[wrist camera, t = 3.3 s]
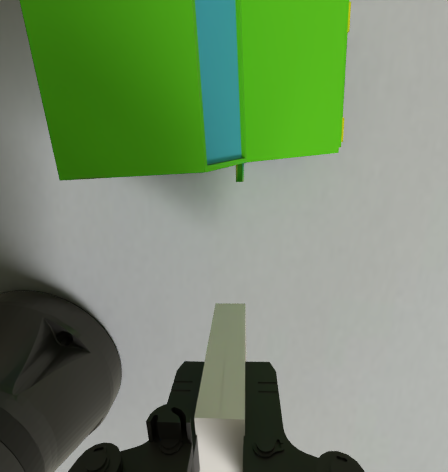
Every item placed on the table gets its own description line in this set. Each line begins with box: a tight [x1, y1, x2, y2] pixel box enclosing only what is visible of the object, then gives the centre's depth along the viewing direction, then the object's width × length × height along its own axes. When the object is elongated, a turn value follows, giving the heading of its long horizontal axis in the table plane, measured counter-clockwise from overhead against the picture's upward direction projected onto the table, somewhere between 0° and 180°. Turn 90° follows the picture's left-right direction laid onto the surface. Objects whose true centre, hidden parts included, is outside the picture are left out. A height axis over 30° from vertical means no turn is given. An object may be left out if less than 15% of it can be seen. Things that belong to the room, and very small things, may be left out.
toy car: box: [20, 0, 351, 182], centre depth 15 cm, size 10×13×10 cm
